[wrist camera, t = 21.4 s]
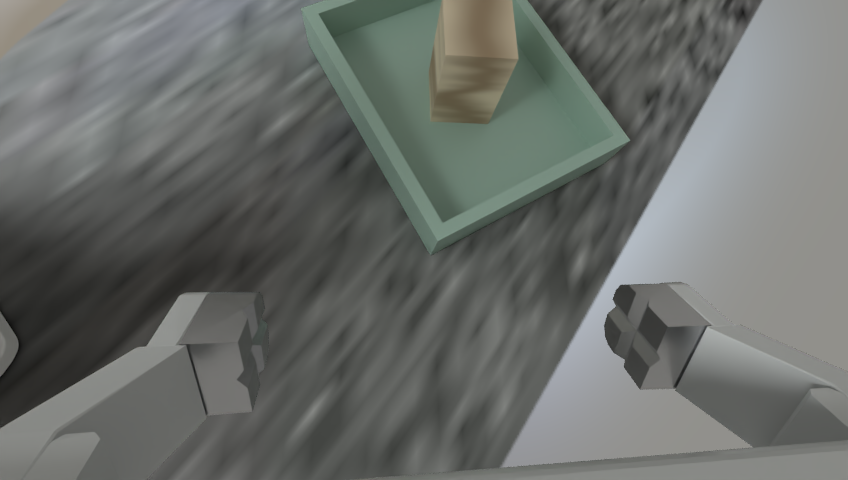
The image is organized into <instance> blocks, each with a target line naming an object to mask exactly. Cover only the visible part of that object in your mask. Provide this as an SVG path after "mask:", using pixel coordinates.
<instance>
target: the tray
mask: <svg viewBox="0 0 848 480" xmlns="http://www.w3.org/2000/svg"><path fill="white" fill-rule="evenodd" d="M441 1H442V0H324V1H321V2H318V3H315V4H312V5H310V6H307V7H304V8H301V10H302V15H303V20H304V25H305V29H306V34H307V39H308V44H309V46H310V48H311V50H312V51H313V53H314V55H315V56H316V58H317V60H318V62H319V63H320V65H321V67H322V69H323V70H324V72H325V74H326V76H327V77H328V79H329V81H330V82H331V84H332V86H333V88H334V89H335V91H336V93H337V95H338V96H339V98H340V100H341V101H342V103H343V105H344V107H345V108H346V110H347V112H348V114H349V115H350V117H351V119H352V120H353V122H354V124H355V126H356V127H357V129H358V131H359V133H360V134H361V136H362V138H363V140H364V141H365V143H366V145H367V146H368V148H369V150H370V152H371V153H372V155H373V157H374V159H375V160H376V162H377V164H378V165H379V167H380V169H381V171H382V172H383V174H384V176H385V178H386V179H387V181H388V183H389V184H390V186H391V188H392V190H393V191H394V193H395V195H396V197H397V198H398V200H399V202H400V203H401V205H402V207H403V209H404V210H405V212H406V214H407V216H408V217H409V219H410V221H411V223H412V224H413V226H414V228H415V229H416V231H417V233H418V235H419V236H420V238H421V240H422V242H423V243H424V245H425V247H426V248H427V250H428V252H429V254H430V255H432V254H434V253H436V252H438V251H440V250H442V249H444V248H446V247H447V246H449V245H451V244H453V243H455V242H457V241H459V240H461V239H463V238H464V237H466V236H468V235H470V234H472V233H474V232H476V231H478V230H480V229H481V228H483V227H485V226H487V225H489V224H491V223H493V222H495V221H497V220H498V219H500V218H502V217H504V216H506V215H508V214H510V213H512V212H514V211H515V210H517V209H519V208H521V207H523V206H525V205H527V204H529V203H531V202H532V201H534V200H536V199H538V198H540V197H542V196H544V195H546V194H548V193H549V192H551V191H553V190H555V189H557V188H559V187H561V186H563V185H565V184H566V183H568V182H570V181H572V180H574V179H576V178H578V177H580V176H582V175H583V174H585V173H587V172H589V171H591V170H593V169H595V168H597V167H599V166H600V165H602V164H604V163H605V162H606V161H608V160H609V159H610V158H611V157H612V156H613V155H614V154H616V153H617V152H618V151H619V150H620V149H621V148H622V147H624V146H625V145H626V144H627V143H628V142H629V141H630V139H629V138H628V137H627V135H626V134H625V133H624V131H623V130H622V128H621V127H620V126H619V124H618V123H617V122H616V120H615V119H614V118H613V116H612V115H611V113H610V112H609V111H608V109H607V108H606V107H605V105H604V104H603V103H602V101H601V100H600V98H599V97H598V96H597V94H596V93H595V92H594V90H593V89H592V88H591V86H590V85H589V83H588V82H587V81H586V79H585V78H584V77H583V75H582V74H581V73H580V71H579V70H578V68H577V67H576V66H575V64H574V63H573V62H572V60H571V59H570V58H569V56H568V55H567V54H566V52H565V51H564V49H563V48H562V47H561V45H560V44H559V43H558V41H557V40H556V39H555V37H554V36H553V34H552V33H551V32H550V30H549V29H548V28H547V26H546V25H545V24H544V22H543V21H542V19H541V18H540V17H539V15H538V14H537V13H536V11H535V10H534V9H533V7H532V6H531V4H530V3H529V2H528V0H512V3H513V12H514V21H515V31H516V40H517V49H518V61H517V63H516V66H515V68H514V70H513V72H512V74H511V76H510V78H509V80H508V83H507V85H506V87H505V89H504V91H503V93H502V95H501V98H500V100H499V102H498V104H497V106H496V108H495V110H494V112H493V115H492V117H491V119H490V121H489V123H488V124H476V123H450V122H430V96H429V67H430V62H431V56H432V51H433V45H434V40H435V34H436V29H437V23H438V18H439V12H440V7H441Z"/></svg>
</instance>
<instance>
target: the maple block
mask: <svg viewBox="0 0 848 480" xmlns="http://www.w3.org/2000/svg"><path fill="white" fill-rule="evenodd" d="M517 61H518V49H517V40H516V31H515V21H514V12H513V3H512V0H442V1H441V7H440V12H439V18H438V23H437V29H436V34H435V40H434V45H433V51H432V56H431V62H430V67H429V96H430V122H450V123H476V124H488V123H489V121H490V119H491V117H492V115H493V112H494V110H495V108H496V106H497V104H498V102H499V100H500V98H501V95H502V93H503V91H504V89H505V87H506V85H507V83H508V80H509V78H510V76H511V74H512V72H513V70H514V68H515V66H516V63H517Z"/></svg>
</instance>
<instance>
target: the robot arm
mask: <svg viewBox="0 0 848 480" xmlns="http://www.w3.org/2000/svg"><path fill="white" fill-rule="evenodd" d="M613 300H614V303H615V305H616V307H615V308H614V309H613V310H612V311H610V312H609V313H608V314H607V318H606V322H605V325H604V327H605V337H606V340H607V342H608V345H609V346H610V348H611V349H612V351H613V352H614V353H615V354H617V355H618V356H620V357H622V358H623V359H625V363H624V368H625V369H626V371H627V372H628V373H629V375H630V376H631V378H632V379H633V380H634V382H635V383H636V385H637V386H638V387H639V389H642V390H643V389H676V390H675V391H677V392H678V393H679V394H681V395H682V396H684V397H685V398H686V399H688V400H689V401H690V402H692V403H693V404H695V405H696V406H697V407H699V408H700V409H702V410H703V411H704V412H706V413H707V414H708V415H710V416H711V417H712V418H714V419H715V420H717V421H718V422H719V423H721V424H722V425H724V426H725V427H726V428H728V429H729V430H731V431H732V432H733V433H735V434H736V435H737V436H739V437H740V438H741V439H743V440H744V441H746V442H747V443H748V444H750V445H751V446H752V447H754V448H742V449H730V450H717V451H704V452H693V453H680V454H667V455H655V456H642V457H631V458H617V459H605V460H592V461H580V462H568V463H555V464H542V465H529V466H518V467H504V468H492V469H479V470H467V471H454V472H442V473H429V474H417V475H404V476H392V477H380V478H367V479H355V480H848V372H847V371H845V370H843V369H841V368H838V367H836V366H834V365H831V364H829V363H827V362H825V361H822V360H820V359H817V358H815V357H813V356H811V355H809V354H806V353H804V352H802V351H799V350H797V349H795V348H792V347H790V346H788V345H786V344H783V343H781V342H779V341H777V340H774V339H772V338H770V337H767V336H765V335H763V334H760V333H758V332H756V331H754V330H751V329H749V328H747V327H745V326H742V325H734V324H733V323H732V322H731V321H729V320H728V319H727V318H726V317H725V316H724V315H722V314H721V313H720V312H719V311H718V310H717V309H716V308H714V307H713V306H712V305H711V304H710V303H709V302H708V301H706V300H705V299H704V298H703V297H702V296H701V295H699V294H698V293H697V292H696V291H695V290H694V289H692V288H691V287H690V286H689V285H687V284H684V283H682V282H672V283H660V284H634V285H620V286H619V288H618V289H617V290H616V292H615V294H614V297H613ZM264 309H265V306H264V301H263V296H262V294H261V293H260V292H210V293H209V292H189V293H183V294H181V295H180V296H179V297H178V299H177V300H176V302H175V303H174V305H173V306H172V308H171V309H170V311H169V312H168V314H167V315H166V317H165V318H164V320H163V321H162V323H161V325H160V326H159V328H158V329H157V331H156V332H155V334H154V335H153V337H152V338H151V340H150V341H149V343H148V344H147V346H146V347H137V348H135V349H133V350H132V351H130V352H128V353H127V354H125V355H123V356H122V357H120V358H118V359H116V360H115V361H113V362H111V363H110V364H108V365H106V366H105V367H103V368H101V369H100V370H98V371H96V372H94V373H93V374H91V375H89V376H88V377H86V378H84V379H83V380H81V381H79V382H78V383H76V384H74V385H73V386H71V387H69V388H67V389H66V390H64V391H62V392H61V393H59V394H57V395H56V396H54V397H52V398H51V399H49V400H47V401H45V402H44V403H42V404H40V405H39V406H37V407H35V408H34V409H32V410H30V411H29V412H27V413H25V414H24V415H22V416H20V417H18V418H17V419H15V420H13V421H12V422H10V423H8V424H7V425H5V426H3V427H2V428H0V480H146V479H147V478H148V477H149V476H150V475H151V474H152V473H153V472H154V471H155V470H156V469H157V468H158V467H159V466H160V465H161V464H162V463H163V462H164V461H165V460H166V459H167V458H168V457H169V456H170V455H171V454H172V453H173V452H174V451H175V450H176V449H177V448H178V447H179V446H180V445H181V444H182V443H183V442H184V441H185V440H186V439H187V438H188V437H189V436H190V435H191V434H192V433H193V432H194V431H195V430H196V429H197V428H198V427H199V426H200V425H201V423H202V422H203V421H204V420H205V419H206V418H207V416H208V415H220V414H231V413H243V412H252V411H253V408H254V404H255V401H256V397H257V394H258V390H259V387H260V382H259V376H258V374H259V373H260V372H261V371H262V370H263V369H264V368H265V366H266V362H267V358H268V349H269V332H268V325H267V324H266V323H265V322H264V321H263V320H262V319H261V318H262V315H263V312H264ZM17 351H18V339H17V337H16V335H15V334H14V332H13V330H12V329H11V327H10V326H9V324H8V323H7V321H6V320H5V318H4V317H3V315H2V313H1V312H0V377H1V375H2V374H3V373H4V372H5V370H6V369H7V368H8V366H9V365H10V364H11V362H12V361H13V359H14V357H15V355H16V353H17Z"/></svg>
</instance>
